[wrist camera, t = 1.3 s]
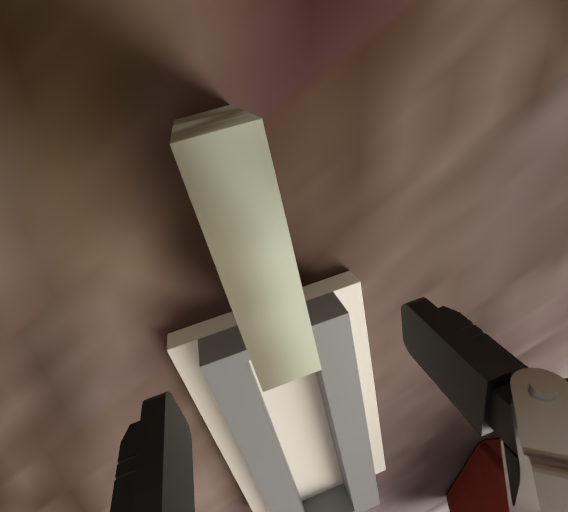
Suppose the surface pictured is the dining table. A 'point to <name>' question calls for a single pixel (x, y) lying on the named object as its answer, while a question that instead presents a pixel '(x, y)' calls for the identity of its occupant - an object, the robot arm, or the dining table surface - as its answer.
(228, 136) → the door panel
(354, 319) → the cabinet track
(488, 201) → the dining table surface
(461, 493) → the plant pot
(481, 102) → the dining table surface
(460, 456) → the dining table surface
